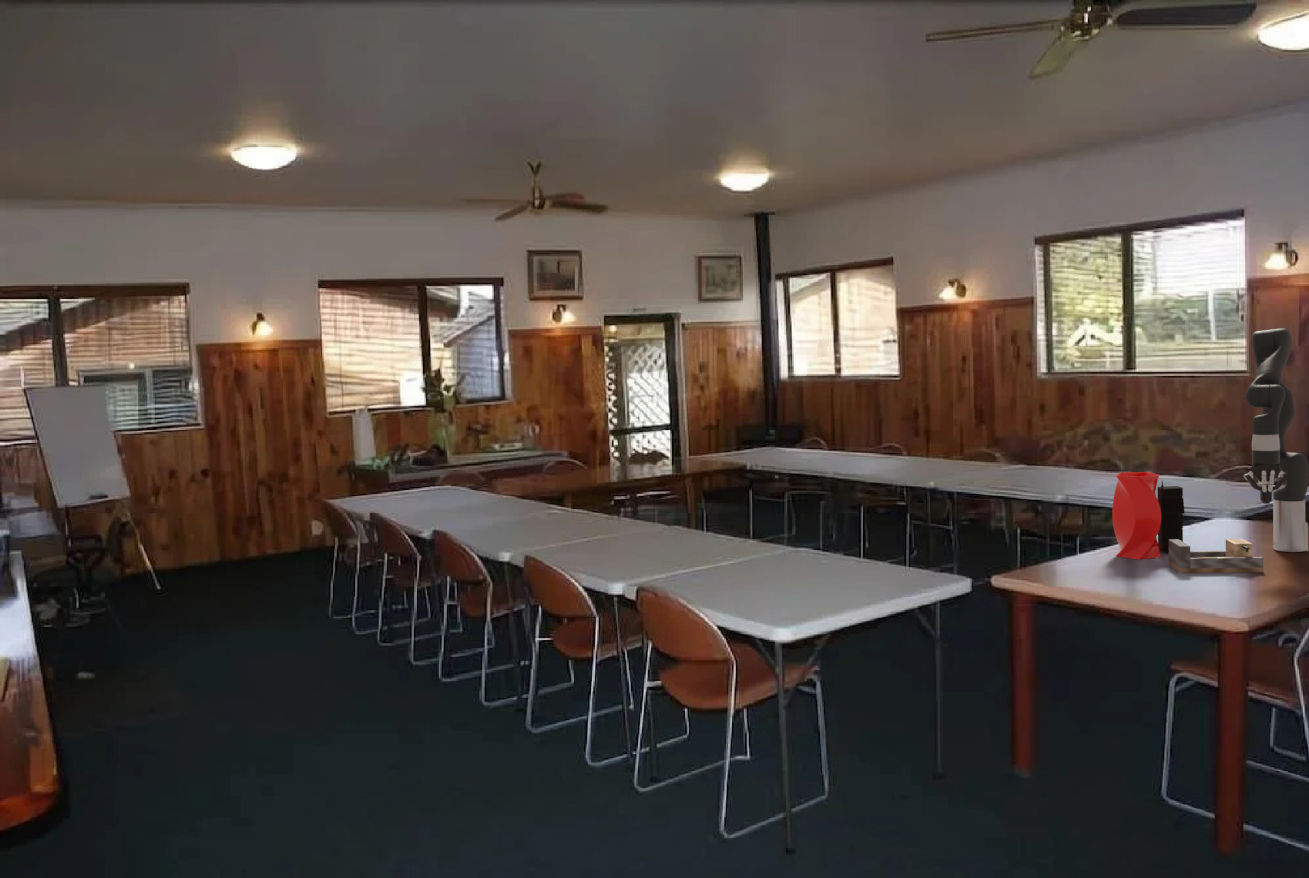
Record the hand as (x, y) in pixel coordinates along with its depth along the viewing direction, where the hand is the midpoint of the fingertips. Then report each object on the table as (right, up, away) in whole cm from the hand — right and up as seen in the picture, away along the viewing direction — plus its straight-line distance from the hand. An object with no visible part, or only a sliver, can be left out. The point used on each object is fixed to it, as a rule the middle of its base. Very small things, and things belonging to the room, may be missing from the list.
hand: (1265, 503), depth 327 cm
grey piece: (-14, -21, +4) cm, 25 cm away
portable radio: (-13, -19, +33) cm, 40 cm away
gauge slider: (-7, -19, +1) cm, 20 cm away
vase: (-27, -20, +30) cm, 45 cm away
